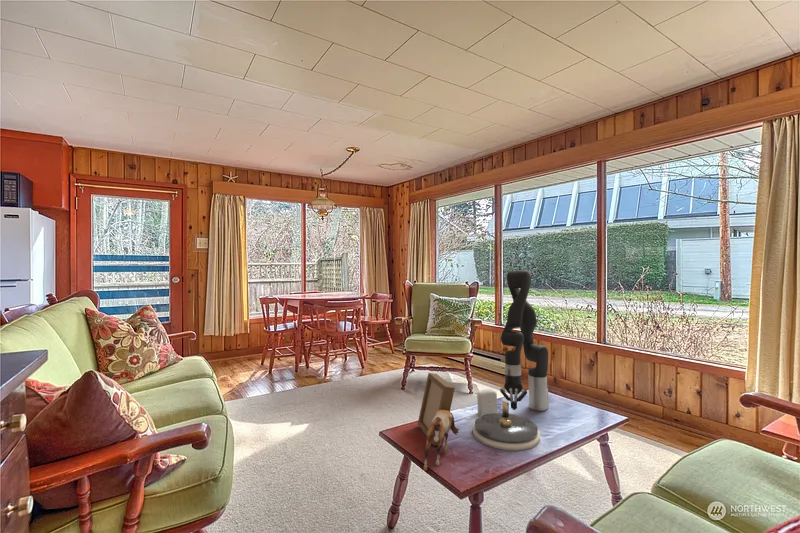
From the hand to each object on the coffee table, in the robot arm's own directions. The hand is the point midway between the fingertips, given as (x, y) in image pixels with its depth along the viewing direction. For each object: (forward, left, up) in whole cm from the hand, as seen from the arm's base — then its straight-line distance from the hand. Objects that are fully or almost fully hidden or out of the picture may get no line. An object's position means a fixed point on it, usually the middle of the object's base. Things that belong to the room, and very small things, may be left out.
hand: (513, 409), depth 176 cm
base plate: (+11, +6, -7) cm, 15 cm away
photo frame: (+36, -9, -7) cm, 38 cm away
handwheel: (+11, +6, -5) cm, 13 cm away
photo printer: (+2, -16, -7) cm, 18 cm away
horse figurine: (+47, +9, -7) cm, 48 cm away
